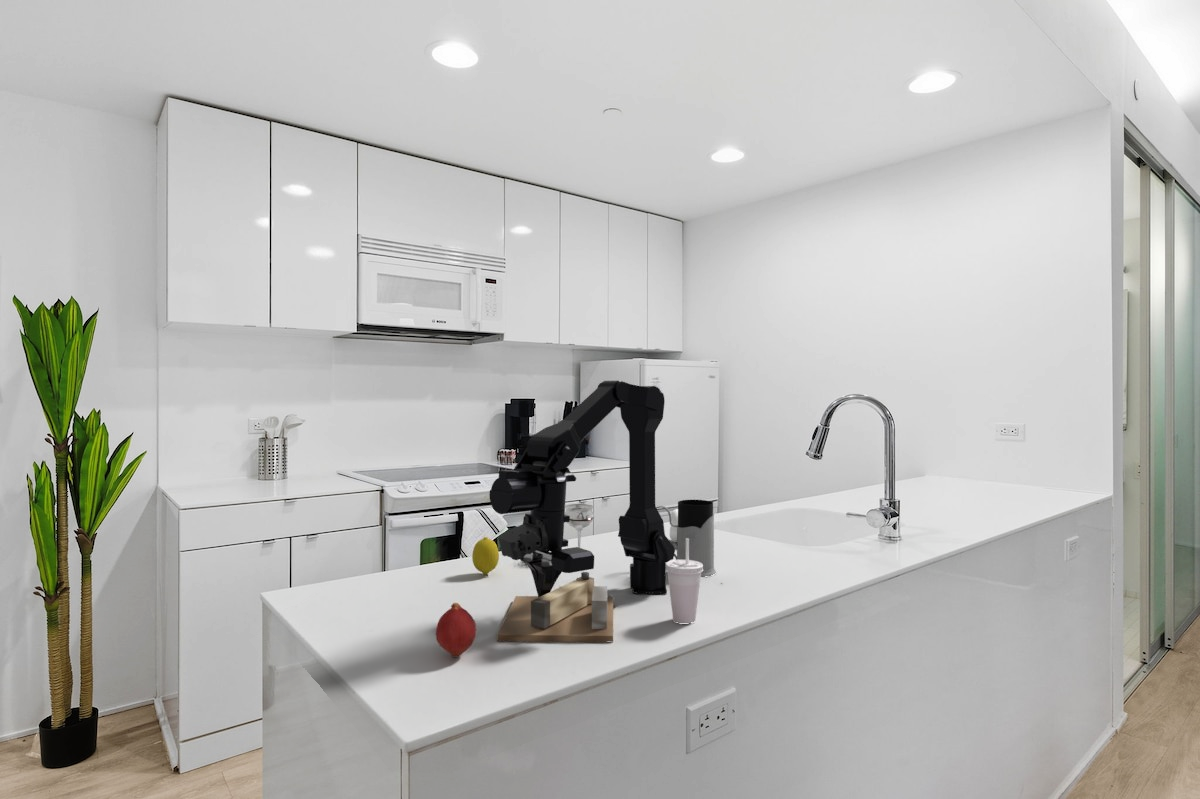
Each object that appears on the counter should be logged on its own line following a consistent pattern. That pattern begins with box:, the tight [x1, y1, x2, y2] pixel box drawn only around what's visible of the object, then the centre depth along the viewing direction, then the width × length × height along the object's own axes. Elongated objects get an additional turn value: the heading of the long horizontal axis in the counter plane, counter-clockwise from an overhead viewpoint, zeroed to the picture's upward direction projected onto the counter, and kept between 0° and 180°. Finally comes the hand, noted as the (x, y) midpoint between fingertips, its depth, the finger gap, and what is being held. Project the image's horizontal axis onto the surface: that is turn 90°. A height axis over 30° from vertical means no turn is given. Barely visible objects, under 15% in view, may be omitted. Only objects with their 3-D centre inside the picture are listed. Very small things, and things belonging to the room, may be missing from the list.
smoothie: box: [665, 538, 703, 623], centre depth 115 cm, size 6×6×14 cm
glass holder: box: [656, 499, 717, 578], centre depth 147 cm, size 9×14×15 cm, turn 68°
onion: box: [435, 602, 477, 658], centre depth 100 cm, size 6×6×8 cm
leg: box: [531, 576, 595, 629], centre depth 116 cm, size 17×3×4 cm, turn 151°
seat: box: [496, 571, 614, 643], centre depth 116 cm, size 18×20×6 cm
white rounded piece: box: [669, 508, 716, 543], centre depth 173 cm, size 11×12×9 cm
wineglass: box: [565, 503, 595, 548], centre depth 159 cm, size 7×7×12 cm
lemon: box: [471, 536, 500, 576], centre depth 144 cm, size 6×6×8 cm
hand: (542, 601), depth 114 cm, fingers closed
